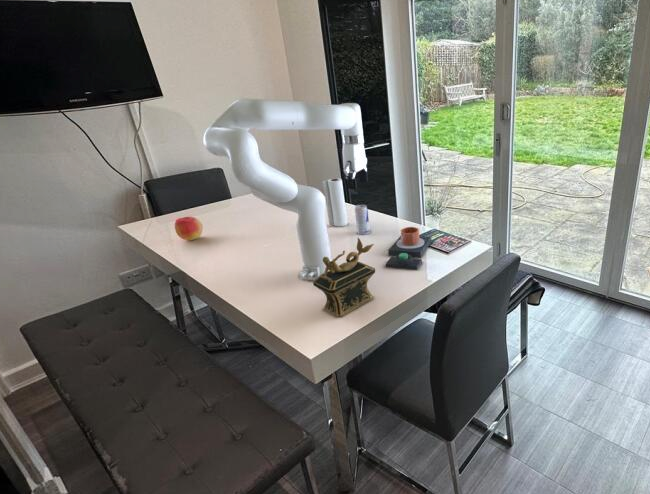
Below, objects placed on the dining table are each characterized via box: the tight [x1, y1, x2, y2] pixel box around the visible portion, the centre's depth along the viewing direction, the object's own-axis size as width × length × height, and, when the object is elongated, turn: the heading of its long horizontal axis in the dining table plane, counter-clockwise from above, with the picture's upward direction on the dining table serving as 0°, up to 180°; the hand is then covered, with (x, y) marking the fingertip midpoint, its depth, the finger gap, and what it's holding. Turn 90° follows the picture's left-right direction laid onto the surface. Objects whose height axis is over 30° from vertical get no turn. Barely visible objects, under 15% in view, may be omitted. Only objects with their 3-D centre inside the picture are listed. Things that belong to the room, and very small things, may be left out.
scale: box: [387, 235, 432, 259], centre depth 163 cm, size 15×13×3 cm
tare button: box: [399, 253, 408, 260], centre depth 149 cm, size 3×3×2 cm
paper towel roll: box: [322, 177, 349, 227], centre depth 184 cm, size 7×6×21 cm
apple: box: [174, 216, 203, 241], centre depth 173 cm, size 10×10×10 cm
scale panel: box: [385, 254, 423, 271], centre depth 150 cm, size 6×12×3 cm, turn 79°
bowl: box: [400, 226, 420, 245], centre depth 161 cm, size 7×7×5 cm
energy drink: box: [354, 204, 371, 235], centre depth 177 cm, size 5×5×12 cm
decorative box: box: [312, 237, 376, 317], centre depth 124 cm, size 20×10×20 cm, turn 143°
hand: (358, 185), depth 153 cm, fingers open, 9 cm apart
